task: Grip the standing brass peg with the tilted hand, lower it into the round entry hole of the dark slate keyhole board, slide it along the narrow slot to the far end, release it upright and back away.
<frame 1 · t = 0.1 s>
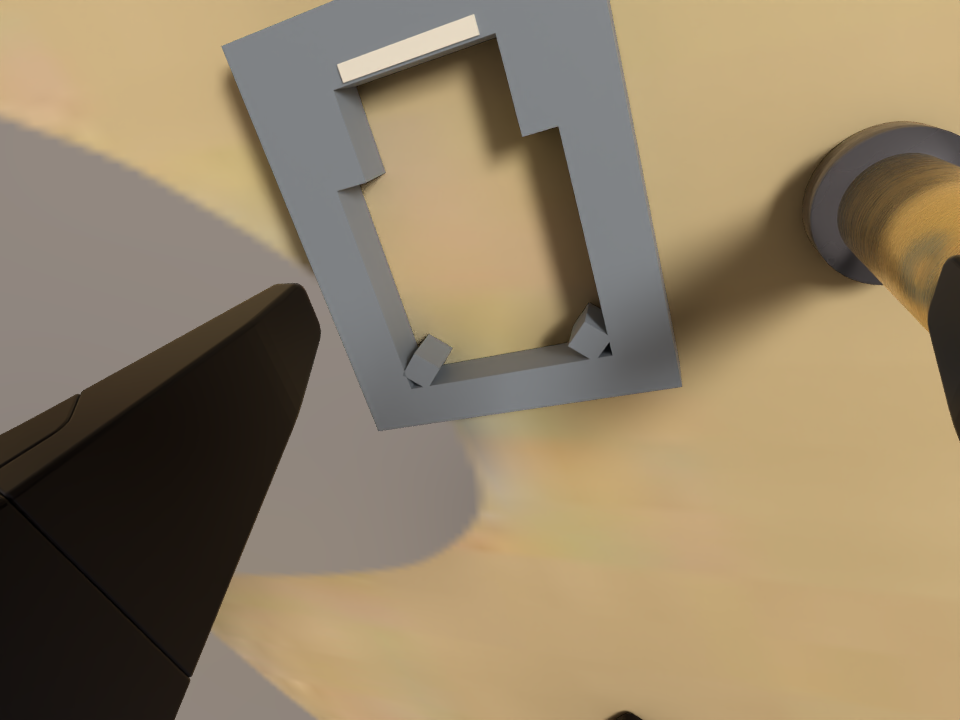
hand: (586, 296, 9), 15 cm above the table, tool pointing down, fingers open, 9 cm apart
brass peg: (883, 199, 22), on the table
keyhole board: (472, 209, 25), on the table
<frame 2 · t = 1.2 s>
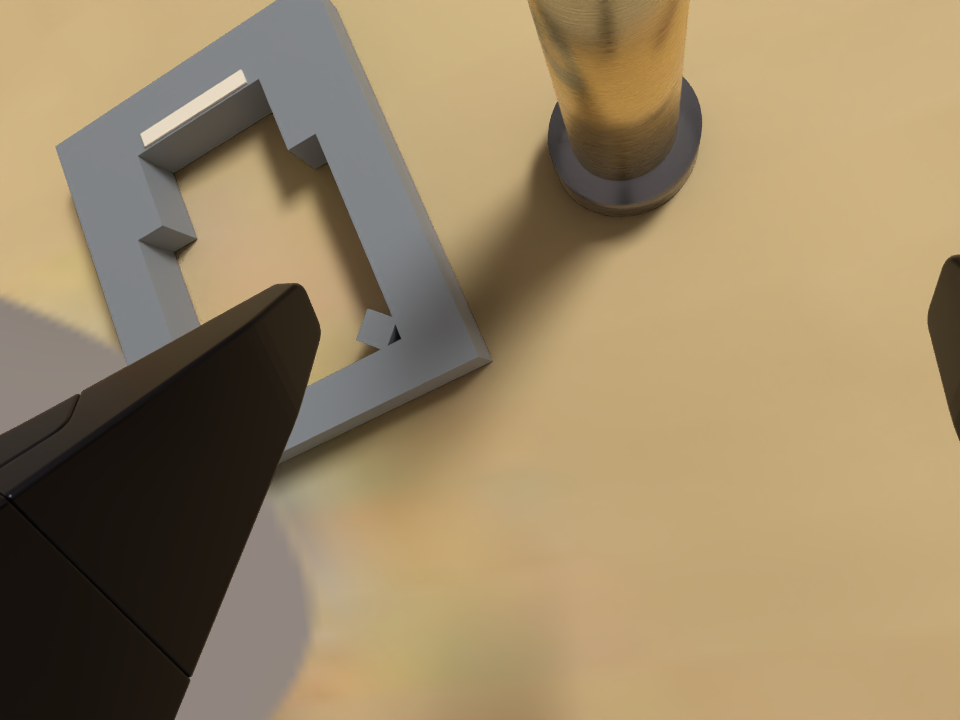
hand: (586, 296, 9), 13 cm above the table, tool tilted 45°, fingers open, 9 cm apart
brass peg: (624, 147, 23), on the table
keyhole board: (273, 252, 26), on the table
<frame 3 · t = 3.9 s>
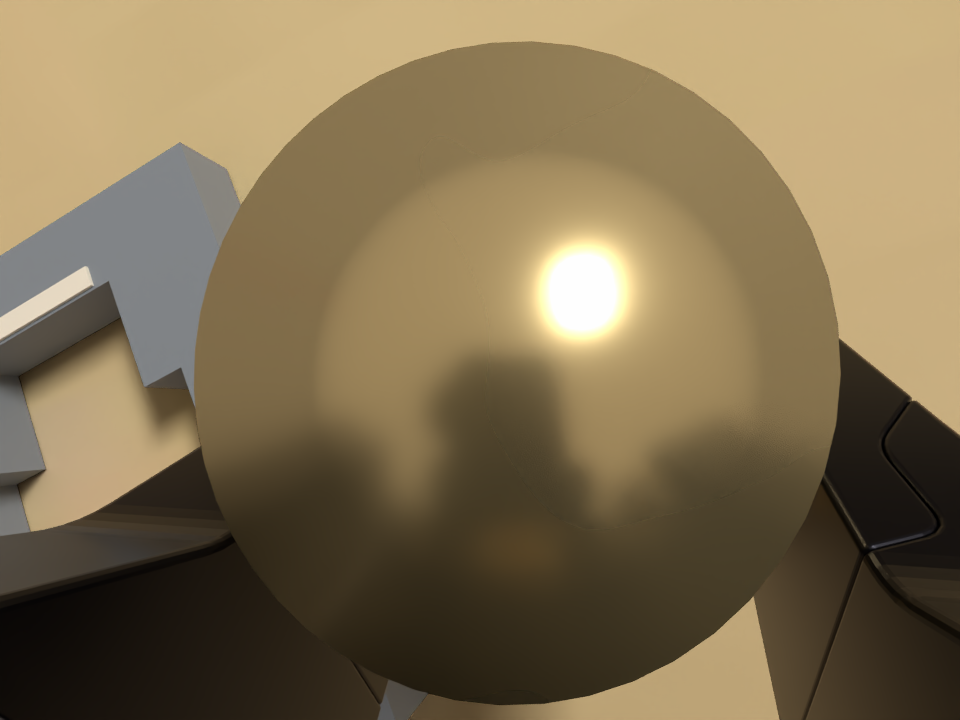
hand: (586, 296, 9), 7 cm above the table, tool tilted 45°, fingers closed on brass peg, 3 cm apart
brass peg: (613, 400, 16), on the table, touching gripper
keyhole board: (140, 499, 19), on the table
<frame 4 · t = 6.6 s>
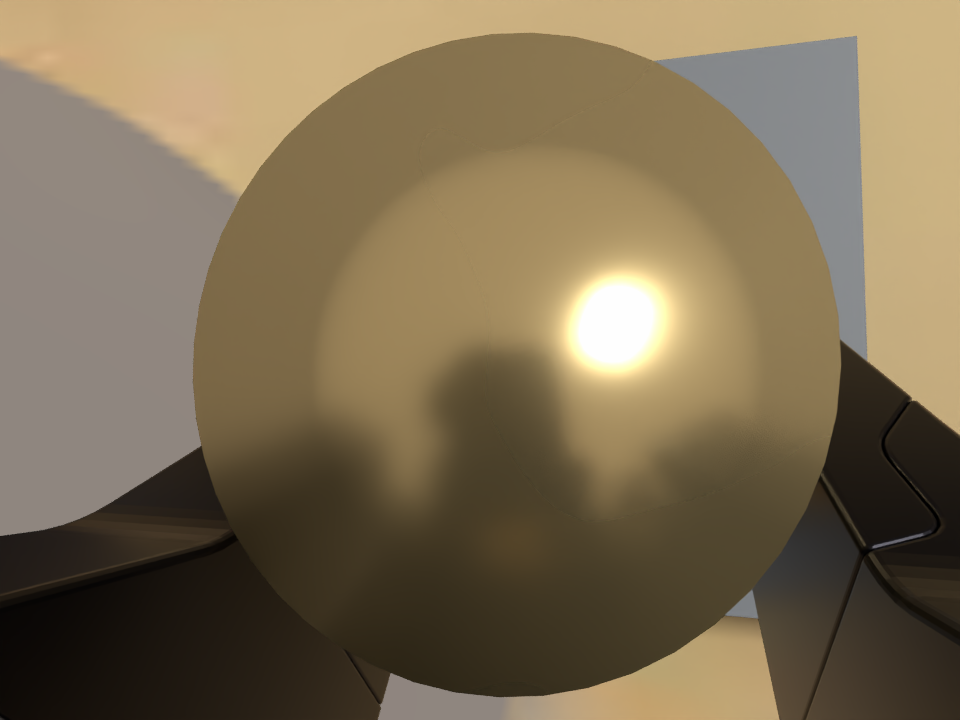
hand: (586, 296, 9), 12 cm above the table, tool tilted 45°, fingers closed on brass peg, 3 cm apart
brass peg: (613, 398, 16), point 5 cm above the table, touching gripper
keyhole board: (621, 335, 21), on the table
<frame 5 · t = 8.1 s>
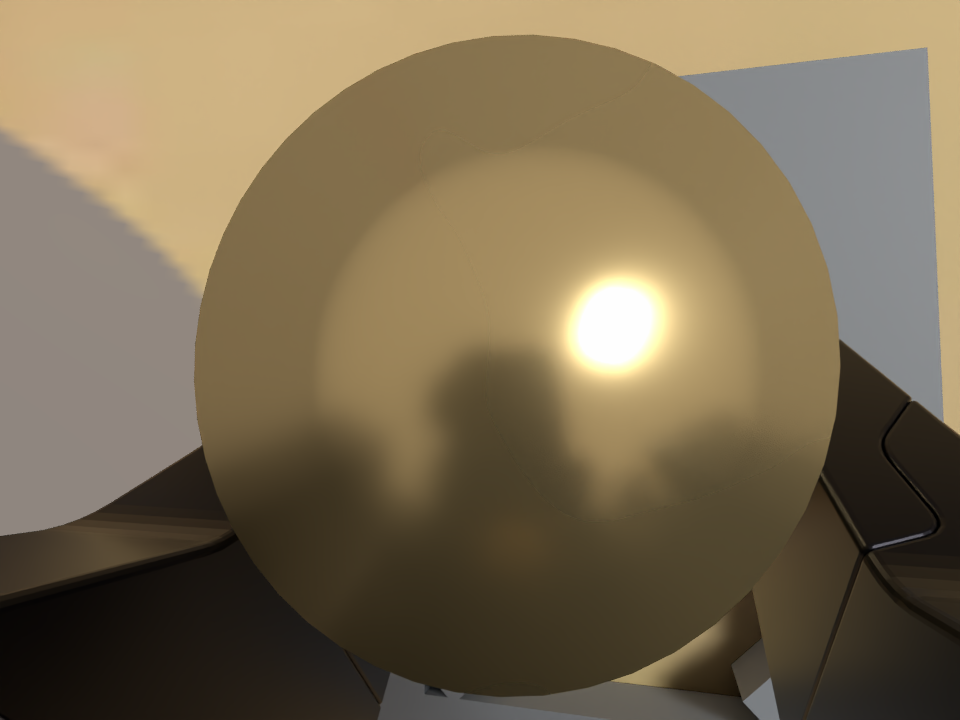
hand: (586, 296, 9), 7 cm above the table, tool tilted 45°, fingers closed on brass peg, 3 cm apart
brass peg: (613, 399, 16), resting in keyhole board, touching gripper
keyhole board: (614, 426, 16), on the table
when the fingers open (7 cm above the table, at t = 9.4 s): brass peg stays where it is, resting in keyhole board.
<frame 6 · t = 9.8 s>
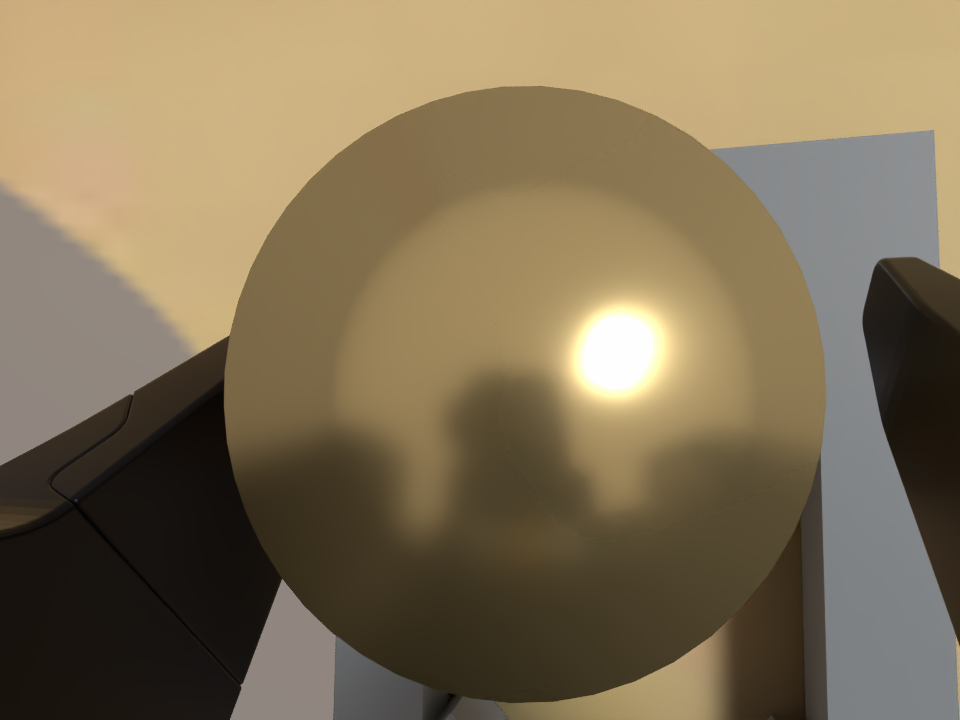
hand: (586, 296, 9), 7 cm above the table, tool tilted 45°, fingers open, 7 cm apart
brass peg: (614, 405, 16), resting in keyhole board
keyhole board: (614, 500, 16), on the table
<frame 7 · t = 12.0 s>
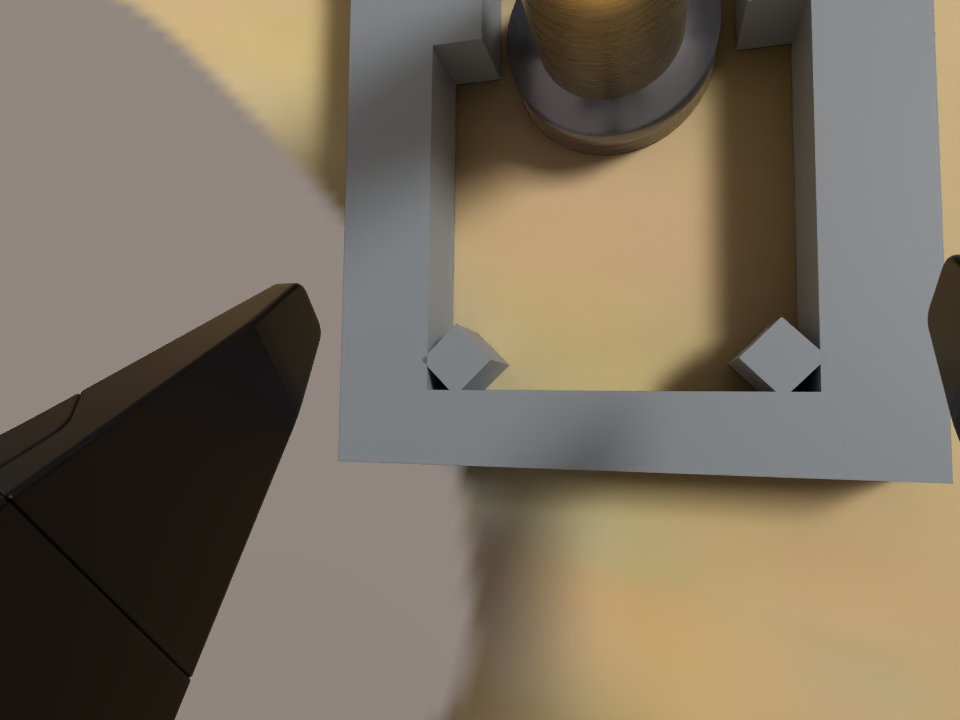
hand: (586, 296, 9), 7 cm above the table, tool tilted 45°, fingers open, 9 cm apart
brass peg: (613, 61, 17), resting in keyhole board
keyhole board: (612, 149, 16), on the table
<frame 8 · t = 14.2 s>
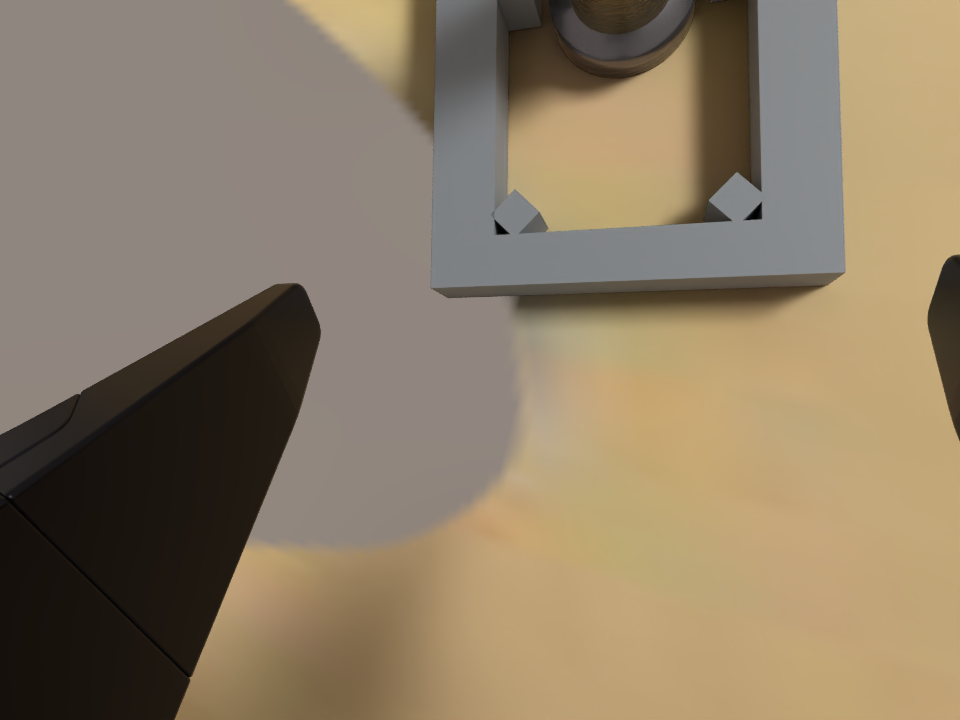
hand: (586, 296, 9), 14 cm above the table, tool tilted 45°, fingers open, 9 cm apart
brass peg: (623, 11, 23), resting in keyhole board
keyhole board: (622, 74, 23), on the table
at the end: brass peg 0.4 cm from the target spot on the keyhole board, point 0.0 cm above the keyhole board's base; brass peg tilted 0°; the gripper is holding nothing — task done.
